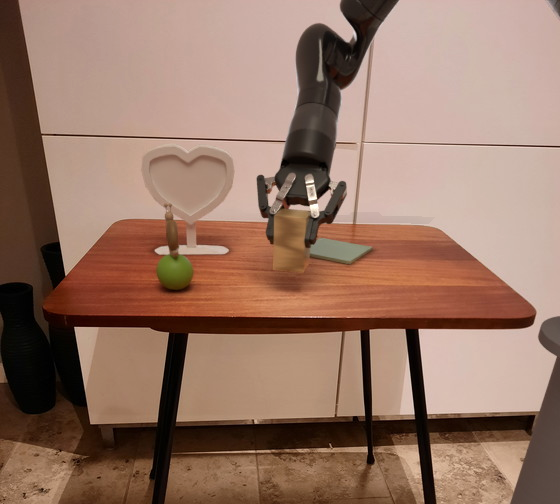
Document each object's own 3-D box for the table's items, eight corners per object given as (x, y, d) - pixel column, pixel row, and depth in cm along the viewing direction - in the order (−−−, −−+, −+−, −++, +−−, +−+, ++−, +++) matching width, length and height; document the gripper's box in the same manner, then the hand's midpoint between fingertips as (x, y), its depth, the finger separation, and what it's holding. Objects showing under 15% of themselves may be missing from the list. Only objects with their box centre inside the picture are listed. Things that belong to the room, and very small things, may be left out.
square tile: (372, 250, 105) (372, 246, 104) (349, 264, 96) (350, 261, 96) (321, 240, 109) (321, 237, 109) (295, 253, 101) (295, 250, 101)
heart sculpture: (147, 254, 97) (138, 146, 88) (150, 246, 102) (141, 142, 93) (235, 254, 99) (234, 148, 91) (233, 246, 104) (232, 144, 95)
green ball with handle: (189, 279, 87) (186, 202, 81) (196, 293, 81) (193, 212, 76) (155, 282, 85) (148, 203, 79) (160, 296, 80) (153, 213, 74)
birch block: (309, 263, 84) (312, 210, 80) (303, 273, 80) (306, 217, 76) (280, 260, 84) (281, 208, 81) (272, 269, 81) (274, 215, 77)
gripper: (260, 124, 81) (236, 225, 76) (356, 129, 78) (337, 234, 74) (268, 157, 88) (247, 251, 83) (357, 163, 85) (339, 261, 81)
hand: (289, 243), depth 78 cm, fingers closed on birch block, 4 cm apart
